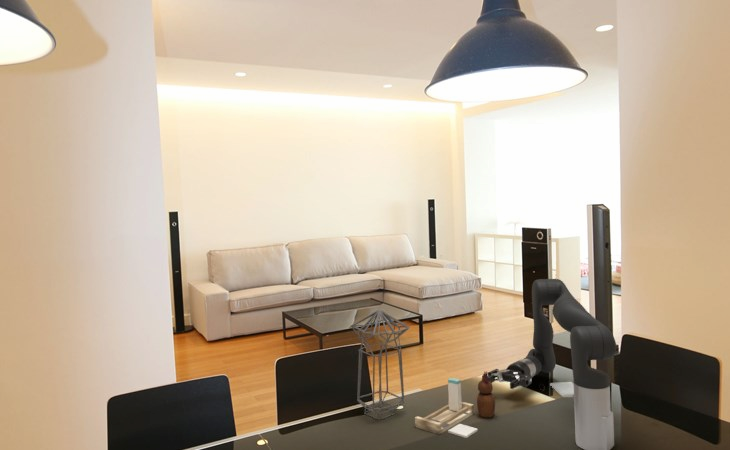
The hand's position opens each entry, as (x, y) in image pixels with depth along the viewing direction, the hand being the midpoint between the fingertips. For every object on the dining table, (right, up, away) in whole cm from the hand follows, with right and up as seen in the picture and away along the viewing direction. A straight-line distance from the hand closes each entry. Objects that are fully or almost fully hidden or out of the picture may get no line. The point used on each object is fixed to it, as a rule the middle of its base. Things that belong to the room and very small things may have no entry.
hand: (499, 383), depth 174 cm
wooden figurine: (-6, -9, -7) cm, 12 cm away
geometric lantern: (-39, -10, -1) cm, 41 cm away
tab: (-16, -7, -4) cm, 18 cm away
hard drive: (+28, -7, +12) cm, 32 cm away
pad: (-16, -9, -18) cm, 25 cm away
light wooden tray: (-20, -9, -9) cm, 23 cm away
